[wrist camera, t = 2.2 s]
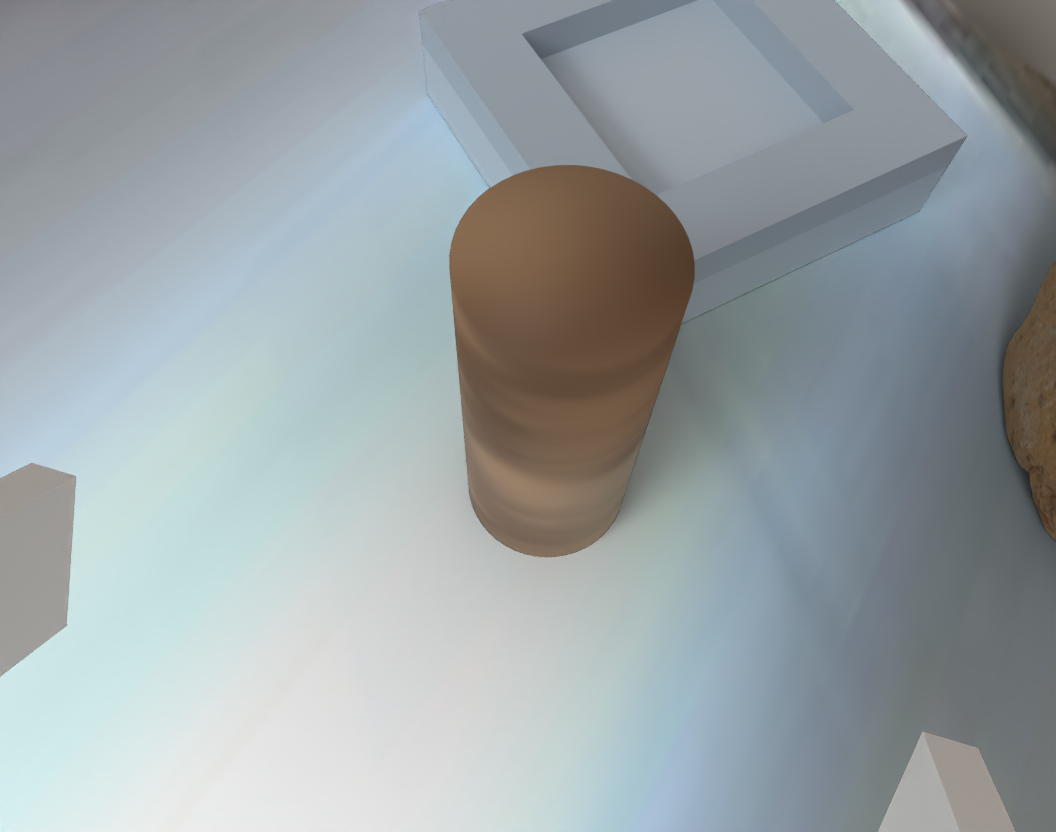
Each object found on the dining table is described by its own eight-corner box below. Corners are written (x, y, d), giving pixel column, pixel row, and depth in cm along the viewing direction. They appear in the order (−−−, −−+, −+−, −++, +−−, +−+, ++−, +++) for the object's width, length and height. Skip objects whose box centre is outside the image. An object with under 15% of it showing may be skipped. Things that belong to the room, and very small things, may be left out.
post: (441, 453, 29) (408, 218, 19) (574, 389, 31) (614, 134, 20) (514, 585, 28) (523, 407, 17) (653, 512, 29) (743, 302, 18)
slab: (427, 93, 36) (419, 10, 33) (714, -14, 40) (735, -100, 36) (605, 360, 31) (618, 294, 28) (919, 211, 34) (967, 135, 31)
